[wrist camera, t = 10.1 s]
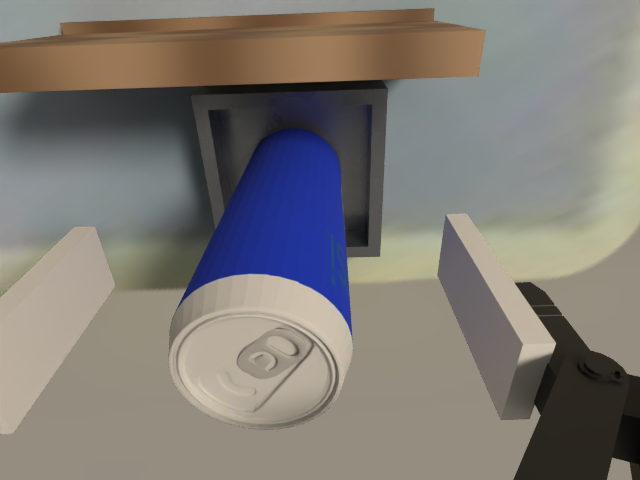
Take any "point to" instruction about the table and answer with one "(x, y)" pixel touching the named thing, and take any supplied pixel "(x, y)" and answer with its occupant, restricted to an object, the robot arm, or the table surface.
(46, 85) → the board
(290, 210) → the beverage can
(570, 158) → the table surface
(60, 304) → the robot arm
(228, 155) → the tray
